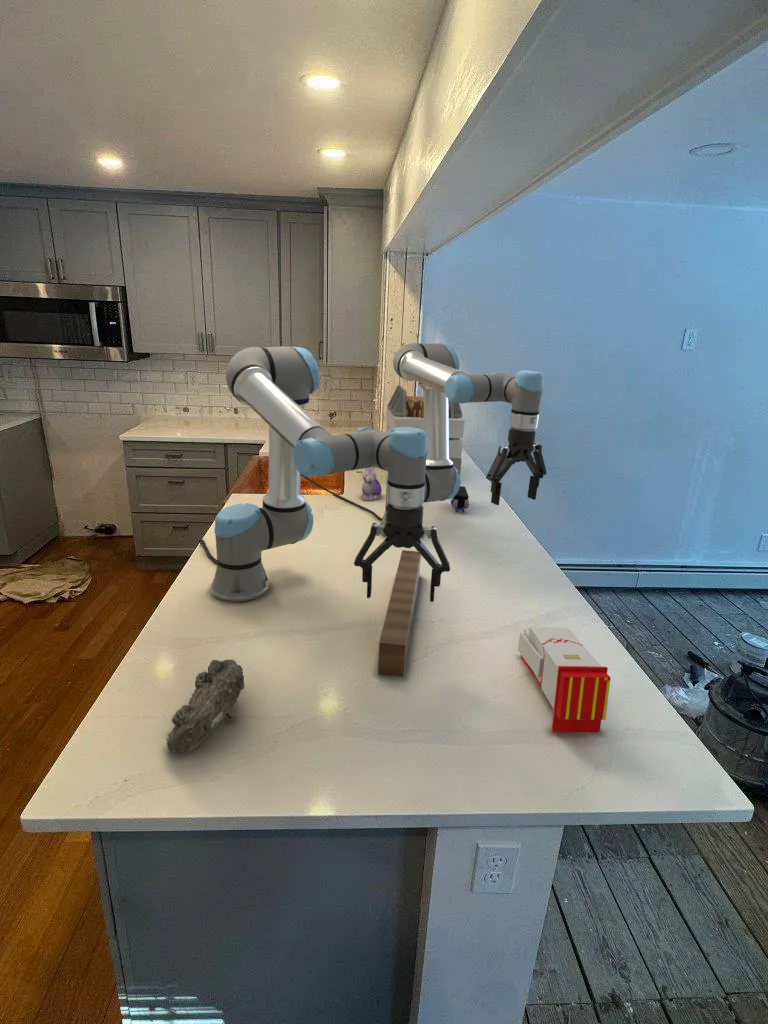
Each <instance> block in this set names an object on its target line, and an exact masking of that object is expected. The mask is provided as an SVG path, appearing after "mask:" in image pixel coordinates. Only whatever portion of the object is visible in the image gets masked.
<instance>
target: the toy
mask: <svg viewBox="0 0 768 1024" xmlns="http://www.w3.org/2000/svg"><path fill="white" fill-rule="evenodd" d="M518 638H519V639H518V646H517V651H518V653H519V654H520V659H521V660H522V662H523V663H524V665H525V666H526V668H527V669H528V670H529V672H530V673H531V675H532V676H533V678H534V679H535V681H536V683H537V684H538V685H539V687H541V691H542V692H543V694H544V695H545V697H546V698H547V701H548V702H549V704H550V705H551V707H552V709H553V714H552V724H551V732H552V733H586V734H587V733H593V734H595V733H597V734H600V732H601V724H602V721H606V719H607V711H608V710H607V709H608V701H609V694H610V686H611V676H610V675H609V674H608V669H609V668H608V666H601V665H600V663H599V662H598V661H597V660H596V658H594V656H593V655H592V654H591V652H589V651H588V649H587V648H586V647H585V646H584V644H583V643H582V642H581V640H579V639H578V637H577V636H576V635H575V633H573V631H572V630H571V629H570V628H569V627H557V626H556V627H555V626H554V627H553V626H529V628H524V629H523V632H520V633H519V637H518Z"/></svg>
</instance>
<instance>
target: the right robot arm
mask: <svg viewBox="0 0 768 1024" xmlns="http://www.w3.org/2000/svg"><path fill="white" fill-rule="evenodd" d="M460 363H461V362H460V356H459V354H458V352H457V350H456V349H455V348H454V346H452V345H451V344H447V343H438V342H437V343H418V342H411V343H407V344H404V345H403V346H401V347H399V349H398V350H396V352H395V354H394V355H393V358H392V367H393V369H394V372H395V374H396V375H397V376H398V377H399V378H401V379H403V380H405V381H407V382H408V381H409V382H415V381H416V382H417V383H418V386H419V387H420V388H421V389H422V392H423V393H422V397H423V402H424V431H425V432H426V434H427V450H428V453H427V459H426V472H425V490H424V503H431V502H444V501H446V500H451V498H453V497H454V496H455V495H456V494H457V492H458V490H459V487H460V486H461V474H460V475H459V474H458V473H459V472H458V470H457V469H456V468H455V467H453V462H452V461H451V460H450V459H449V422H448V400H449V401H450V402H452V403H459V404H462V405H463V404H468V403H469V404H470V403H471V404H472V403H496V402H503V403H507V404H511V410H510V418H509V427H510V428H508V435H507V441H508V445H507V447H505V446H502V445H499V447H498V449H497V454H496V456H495V458H494V460H493V461H492V464H491V465H490V467H489V469H488V472H487V474H486V475H485V479H486V480H488V481H491V483H490V484H491V485H490V493H491V499H490V503H491V504H493V505H496V506H499V505H500V500H501V492H502V485H503V484H502V482H500V481H502V479H503V478H504V476H505V475H506V474H507V472H508V471H509V470H510V468H511V467H512V466H513V465H515V464H516V463H521V462H525V464H526V466H527V467H528V468H529V471H530V473H531V475H530V476H529V483H528V490H527V495H526V496H527V498H528V499H531V500H533V501H534V500H536V499H537V493H538V488H539V487H540V481H541V480H540V479H543V478H544V476H545V475H547V469H546V468H547V467H546V465H545V460H544V456H543V452H542V451H543V447H542V446H543V445H542V444H540V443H537V442H536V439H537V432H538V431H537V430H536V429H537V428H538V424H539V417H540V409H541V404H542V396H543V391H544V380H545V379H544V378H545V377H544V376H545V375H544V374H543V373H542V372H541V371H534V370H523V369H521V370H517V372H516V373H515V375H511V374H507V373H505V372H492V373H490V374H470V373H467V372H464V371H462V370H460V367H461V366H460V365H461V364H460ZM301 477H303V478H304V479H306V480H307V481H308V482H310V483H312V484H313V485H315V486H316V487H318V488H319V489H322V490H323V491H325V492H327V493H329V494H331V495H333V496H334V497H337V498H339V499H341V500H343V501H345V502H348V503H349V504H352V505H353V506H355V507H358V508H360V509H362V510H364V511H367V512H368V513H370V514H372V515H373V516H374V517H375V518H377V520H379V521H381V522H379V525H381V526H385V524H386V513H387V505H388V504H389V503H388V502H387V488H388V473H387V475H386V479H385V504H384V505H385V507H384V508H385V509H384V513H383V515H382V517H380V516H379V515H378V514H377V513H376V512H375V511H373V510H371V509H369V508H367V507H365V506H362V505H360V504H359V503H356V502H354V501H352V500H350V499H348V498H346V497H343V496H341V495H339V494H337V493H335V492H333V491H331V490H329V489H327V488H326V487H324V486H323V485H320V484H319V483H318V482H315V481H313V480H312V479H310V477H306V476H303V475H302V474H301ZM424 503H423V504H424ZM379 535H381V536H382V537H385V538H387V537H386V535H385V534H384V532H381V533H380V534H379Z"/></svg>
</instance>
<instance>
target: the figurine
mask: <svg viewBox="0 0 768 1024" xmlns="http://www.w3.org/2000/svg"><path fill="white" fill-rule="evenodd" d="M375 468H376V467H369V468H364V472H363V474H362V479H363V483H362V485H361V491H362V493H361V498H362V500H364V501H365V500H366V501H373V500H377V499H380V498H381V497H382V496H381V495H382V486H381V483H380V481H379V480H378V479H377V474H376V471H375Z"/></svg>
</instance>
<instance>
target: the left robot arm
mask: <svg viewBox="0 0 768 1024" xmlns="http://www.w3.org/2000/svg"><path fill="white" fill-rule="evenodd" d="M225 381H226V385H227V388H228V390H229V392H230V393H231V395H232V396H233V397H234V398H235V399H236V400H237V401H238V402H239V403H240V404H242V405H243V406H247V407H249V408H251V409H252V410H253V411H254V412H255V413H256V414H257V415H258V416H259V417H260V418H261V419H262V420H263V421H264V422H265V423H266V424H267V425H268V492H267V493H265V495H263V498H262V507H259V506H258V505H257V504H254V503H237V504H232V505H228V506H226V507H224V508H222V509H221V510H219V512H218V513H217V514H216V516H215V519H214V535H215V549H216V558H215V557H214V556H213V555H212V554H211V552H210V550H209V548H208V546H207V544H206V541H204V539H202V538H200V539H199V540H198V543H199V544H201V545H202V547H203V549H204V551H205V553H206V555H207V557H208V558H209V559H210V560H211V561H212V562H214V563H215V564H217V566H216V569H215V573H214V577H213V580H212V583H211V593H212V595H213V596H214V598H216V599H217V600H221V601H224V602H228V603H244V602H250V601H254V600H256V599H259V598H261V597H263V596H265V595H266V594H267V593H268V591H269V589H270V578H269V577H268V575H267V572H266V570H265V568H264V565H263V563H262V552H264V551H267V550H271V549H276V548H279V547H283V546H288V545H294V544H297V543H298V542H301V541H303V540H306V539H307V538H308V537H309V536H310V535H311V533H312V530H313V528H314V514H313V513H312V512H313V510H312V507H311V505H310V503H309V502H307V500H306V497H305V496H304V495H303V494H301V483H302V482H301V480H302V477H303V476H306V477H308V478H312V477H325V476H329V475H334V474H339V473H344V472H350V471H356V470H363V469H365V468H369V467H375V468H377V469H381V470H383V471H386V472H387V474H388V488H387V502H388V503H389V504H388V505H387V513H386V524H385V526H381V525H380V524H378V523H377V522H372V523H371V525H370V530H369V534H368V536H367V537H366V539H365V540H364V542H363V544H362V546H361V548H360V549H359V551H358V553H357V554H356V556H355V558H354V561H353V565H354V566H355V567H359V568H361V570H362V574H361V575H362V576H361V580H362V583H366V598H367V599H371V596H372V583H373V564H374V563H375V562H376V561H377V560H379V558H380V557H381V556H382V555H383V554H384V553H385V552H386V551H387V550H389V549H390V548H391V547H395V548H396V549H399V548H405V549H411V548H413V547H414V549H415V551H417V552H420V554H421V557H423V558H424V560H425V561H426V562H427V564H428V565H429V566H430V568H432V569H431V577H430V590H429V603H434V602H435V588H439V587H440V586H441V581H442V573H445V572H447V573H449V572H450V571H451V565H450V561H449V559H448V557H447V555H446V553H445V550H444V548H443V546H442V543H441V542H440V539H439V536H438V529H437V526H435V525H432V526H431V527H424V526H423V523H424V522H423V520H424V506H423V504H424V490H425V472H426V459H427V453H428V450H427V434H426V432H425V431H424V430H422V429H419V428H412V427H397V428H394V429H392V430H391V431H390V433H386V431H383V430H379V429H378V428H376V427H375V428H374V427H367V426H362V427H357V429H355V430H354V431H353V432H351V433H341V434H331V433H330V432H329V431H328V430H327V429H325V428H324V427H323V426H322V425H321V424H320V423H319V422H318V421H316V420H315V418H313V417H312V416H311V415H310V414H309V413H308V412H307V411H305V409H304V408H306V406H308V405H309V404H310V395H312V394H314V393H315V392H316V391H317V390H318V388H319V386H320V370H319V366H318V363H317V361H316V359H315V357H314V355H313V353H311V352H310V350H308V349H307V348H305V347H299V346H290V345H287V346H262V347H261V346H250V347H247V348H244V349H242V350H240V351H238V352H237V353H236V354H234V355H233V357H232V358H231V359H230V360H229V362H228V364H227V367H226V371H225ZM301 474H302V475H303V476H302V475H301ZM381 532H384V534H385V535H386V537H385V538H384V540H383V541H382V542H381V543H380V544H379V545H378V546H377V547H376V548H374V550H373V551H372V552H371V553H370V554H369V555H368V556H367V557H366V555H367V553H368V551H369V550H370V548H371V546H372V545H373V544H374V541H375V538H376V536H377V537H378V536H380V535H381V534H380V533H381ZM424 535H425V536H426V537H427V539H429V540H430V539H431V543H432V546H433V548H434V551H435V552H436V554H437V556H438V559H439V561H440V562H439V561H438V560H437V559H436V557H434V555H433V554H432V553H431V551H430V550H429V549H428V548H427V546H425V544H424V542H423V541H422V538H423V537H424ZM201 542H202V543H201ZM364 557H366V558H365V559H364Z"/></svg>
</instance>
